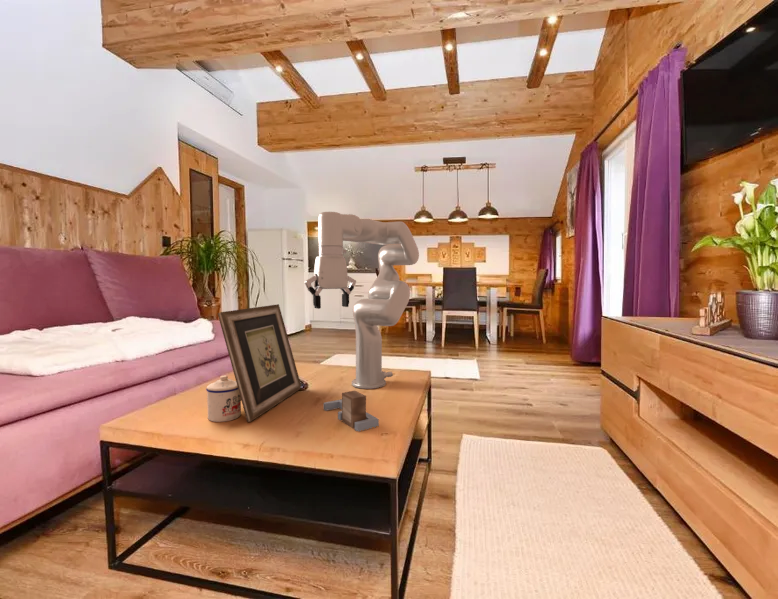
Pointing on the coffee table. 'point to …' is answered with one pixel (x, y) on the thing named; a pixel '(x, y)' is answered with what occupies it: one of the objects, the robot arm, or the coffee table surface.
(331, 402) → the grey e-shaped bracket
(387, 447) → the coffee table surface
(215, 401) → the teacup with lid
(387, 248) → the robot arm
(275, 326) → the picture frame
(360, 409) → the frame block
